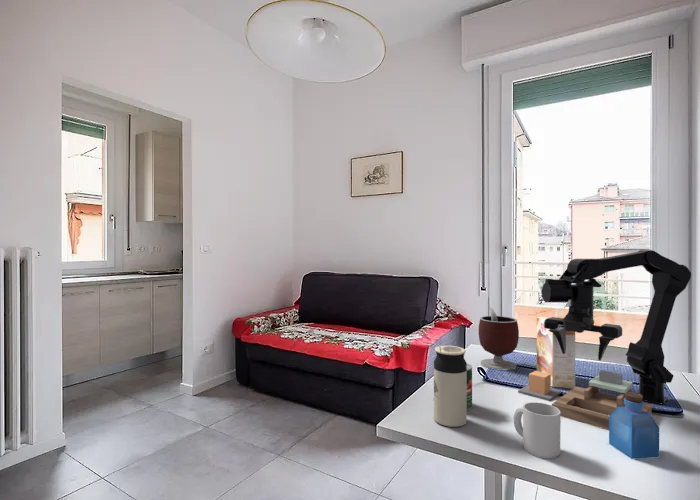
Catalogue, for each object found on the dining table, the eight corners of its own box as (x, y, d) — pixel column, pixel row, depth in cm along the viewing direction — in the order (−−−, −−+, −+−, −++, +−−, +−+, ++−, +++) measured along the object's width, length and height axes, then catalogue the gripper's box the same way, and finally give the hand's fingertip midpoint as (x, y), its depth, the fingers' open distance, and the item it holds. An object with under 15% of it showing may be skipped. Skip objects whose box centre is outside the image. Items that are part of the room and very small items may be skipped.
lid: (597, 378, 115) (597, 366, 115) (632, 385, 109) (632, 373, 109) (588, 385, 109) (588, 372, 109) (625, 393, 103) (625, 380, 103)
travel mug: (467, 416, 102) (467, 346, 101) (465, 430, 94) (465, 354, 94) (435, 412, 104) (435, 344, 104) (431, 425, 97) (431, 351, 96)
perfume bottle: (609, 443, 87) (609, 390, 87) (635, 442, 88) (635, 389, 88) (631, 458, 81) (631, 400, 81) (659, 457, 82) (659, 399, 82)
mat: (530, 385, 124) (530, 383, 124) (561, 392, 118) (561, 390, 118) (518, 392, 118) (518, 390, 118) (549, 401, 112) (549, 398, 112)
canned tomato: (452, 397, 114) (452, 359, 114) (477, 405, 109) (477, 365, 109) (437, 405, 109) (437, 365, 109) (462, 413, 103) (462, 371, 103)
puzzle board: (575, 394, 116) (575, 377, 116) (651, 413, 103) (651, 394, 103) (551, 413, 103) (551, 394, 103) (635, 437, 90) (635, 415, 90)
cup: (548, 463, 80) (549, 419, 80) (504, 442, 88) (504, 402, 88) (567, 452, 84) (567, 410, 84) (523, 434, 92) (523, 395, 92)
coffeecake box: (535, 372, 137) (535, 316, 137) (557, 373, 136) (557, 317, 136) (551, 387, 122) (551, 325, 122) (576, 389, 121) (576, 325, 121)
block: (535, 387, 121) (535, 370, 121) (550, 390, 118) (550, 374, 118) (528, 390, 118) (528, 373, 118) (544, 394, 115) (544, 377, 115)
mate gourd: (525, 371, 139) (525, 314, 138) (485, 371, 139) (485, 314, 139) (508, 358, 154) (508, 307, 154) (472, 358, 154) (472, 307, 154)
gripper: (536, 302, 114) (536, 355, 115) (612, 309, 101) (611, 370, 101) (551, 298, 122) (551, 348, 122) (623, 305, 109) (622, 361, 109)
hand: (581, 356), depth 113 cm, fingers open, 9 cm apart
